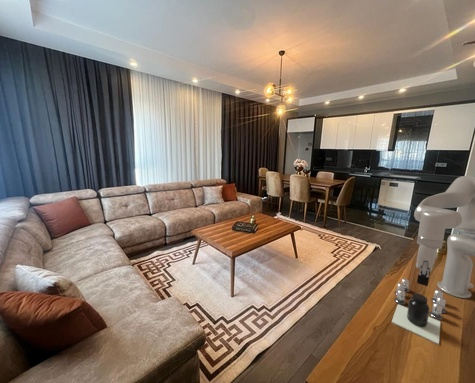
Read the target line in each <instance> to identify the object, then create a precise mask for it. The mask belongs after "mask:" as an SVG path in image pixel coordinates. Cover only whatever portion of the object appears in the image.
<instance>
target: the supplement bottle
mask: <svg viewBox="0 0 475 383" xmlns="http://www.w3.org/2000/svg"><path fill="white" fill-rule="evenodd" d="M407 305H408V306H407V308H408V311H407V319H408V320H409V321H410V322H411V323H413V324H414V325H417V326H420V327H425V326H427V323H428V317H430V315H429V312H430V306H429V304H428V298H427V297H426V296H424V295H423V294H419V293H413V294H412V297H411V298H410V299H409V300H408V304H407Z"/></svg>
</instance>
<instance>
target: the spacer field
mask: <svg viewBox="0 0 475 383" xmlns="http://www.w3.org/2000/svg"><path fill="white" fill-rule="evenodd" d="M409 285H410V280H409V279H407V278H404V277H403V278H401V282H397V285H396V286H397V287H396V290H395V291H394V295H395V296H396V297H395V298H394V302H395V303H396V304H397V305H398V304H399V305H401V306H406V303H407V302H406V301H405V299H406V293H407V294H408V293H410V289H409ZM430 298H431V297H430ZM430 301H431V302H432V303H433V304H432V308H431V311H429V317H430V318H433V319H435V320H438V321H443V318H444V317H443V316H442V314H446V313H447V310H446V309H445V307H446V302H447V300H446V298H444V291H442V290H441V289H438V288H437V289H434V293H433V297H432V298H431V299H430Z"/></svg>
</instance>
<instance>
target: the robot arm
mask: <svg viewBox="0 0 475 383" xmlns="http://www.w3.org/2000/svg"><path fill="white" fill-rule="evenodd" d="M452 208H453V209H454V208H458V211H457V210H453V209H452ZM413 217H414V219H415V221H417V222H419V226H418V227H419V228H418V234H417V239H416V243H417V244H418V245H419V246H418V252H417V257H416V264H415V268H417V269H419V273H418V275H417V281H416V283H417V284H419V285H422V286H425V287H427V286H429V279H430V275H431V272H432V270H433V268H434V264H435V262H436V257H437V252H438V249H442V248H443V244H444V238H445V232H446V230H449V229H450V230H451V229H456V230H457V231H459V232H461V234H460V233H452V234H450V235H449V236H448V237H447V240H446V245H447V246H446V247H447V251H446V252H447V253H446V259H445V265H444V269H443V274H442V280H441V281H438V282H437V287H438V288H439V290H441V291H442V292H443V293H446V294H448V295H450V296H453V297H457V298H461V299H470V298H471V297H472V292H471V291H469V289H470V288H474V283H471V282H470V281H471V277H472V271H473V269H474V268H473V267H474V262H473V261H472V258H475V237H474V236H475V175H463V176H459V177H457V178H455V179H454V181H453V182H452V183H451V184H450V185H449V187H448V188H447V189H446V190H445V191H444V192H440V193H437V194H434V195H431V196H427V197H426V198H424V199H423V200H422V201H420V203H419V204H418V205H417V207H416V208H415V210H414V214H413ZM462 233H465V234H462ZM466 234H469V235H466ZM470 235H474V236H470ZM471 257H472V258H471Z"/></svg>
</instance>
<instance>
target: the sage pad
mask: <svg viewBox="0 0 475 383" xmlns="http://www.w3.org/2000/svg"><path fill="white" fill-rule="evenodd" d="M407 311H408V307H406V306H405V305H400V304H398V303H397V305H396V309H395V310H394V314H393V317H392V320H391V324H393V325H395V326H398V327H400V328H402V329H404V330H407V331H408V332H410V333H413V334H415V335H417V336H418V337H421V338H423V339H425V340H428V341H430V342H432V343H434V344H436V345H438V346H439V345H440V333H441V320H437V319H434V318H432V317H431V316H428V323H427V326H425V327H420V326H417V325H414V324H413V323H411V322H410V321H409V320H408V319H407Z"/></svg>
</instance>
